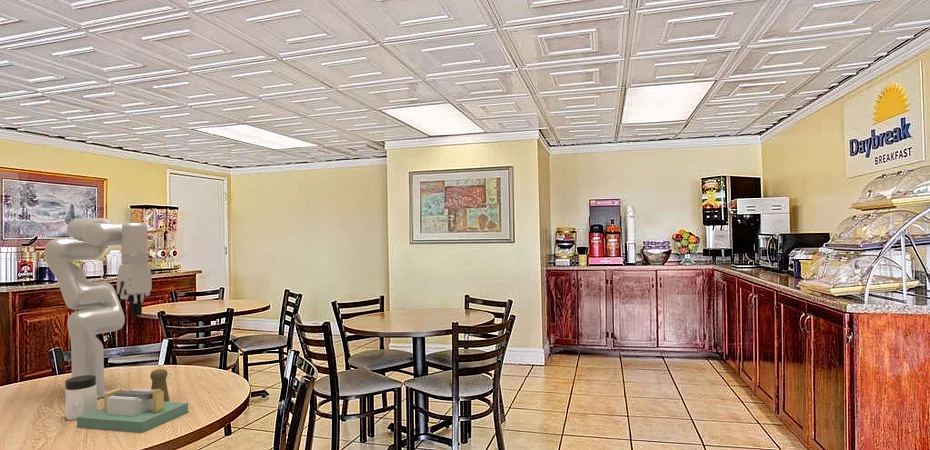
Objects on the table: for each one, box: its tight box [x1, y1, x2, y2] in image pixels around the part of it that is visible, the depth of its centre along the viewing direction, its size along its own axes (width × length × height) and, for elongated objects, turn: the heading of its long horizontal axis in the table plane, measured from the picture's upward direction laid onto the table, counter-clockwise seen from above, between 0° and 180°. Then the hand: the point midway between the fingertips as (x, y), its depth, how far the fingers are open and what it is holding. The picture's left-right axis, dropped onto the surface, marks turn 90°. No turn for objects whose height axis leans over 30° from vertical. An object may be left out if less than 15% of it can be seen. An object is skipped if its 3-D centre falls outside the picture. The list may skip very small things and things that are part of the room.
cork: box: [149, 368, 170, 402], centre depth 188 cm, size 6×6×11 cm
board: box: [76, 388, 189, 433], centre depth 169 cm, size 24×18×8 cm
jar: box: [64, 375, 98, 421], centre depth 175 cm, size 9×8×12 cm
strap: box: [115, 390, 154, 399], centre depth 169 cm, size 13×3×2 cm, turn 75°
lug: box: [151, 389, 164, 413], centre depth 167 cm, size 2×3×6 cm, turn 165°
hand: (135, 315), depth 180 cm, fingers closed
